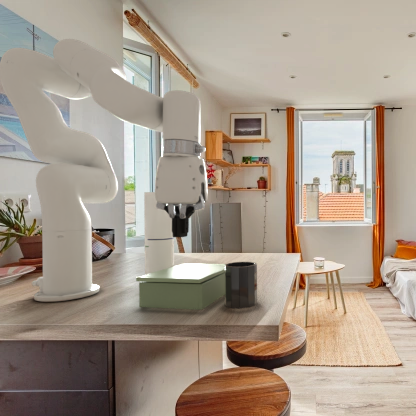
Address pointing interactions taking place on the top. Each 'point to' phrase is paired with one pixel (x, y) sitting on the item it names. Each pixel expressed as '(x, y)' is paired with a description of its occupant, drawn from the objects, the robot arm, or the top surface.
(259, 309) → the top surface
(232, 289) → the cup
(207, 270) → the lid
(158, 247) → the cylindrical container
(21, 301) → the top surface
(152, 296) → the open green box
